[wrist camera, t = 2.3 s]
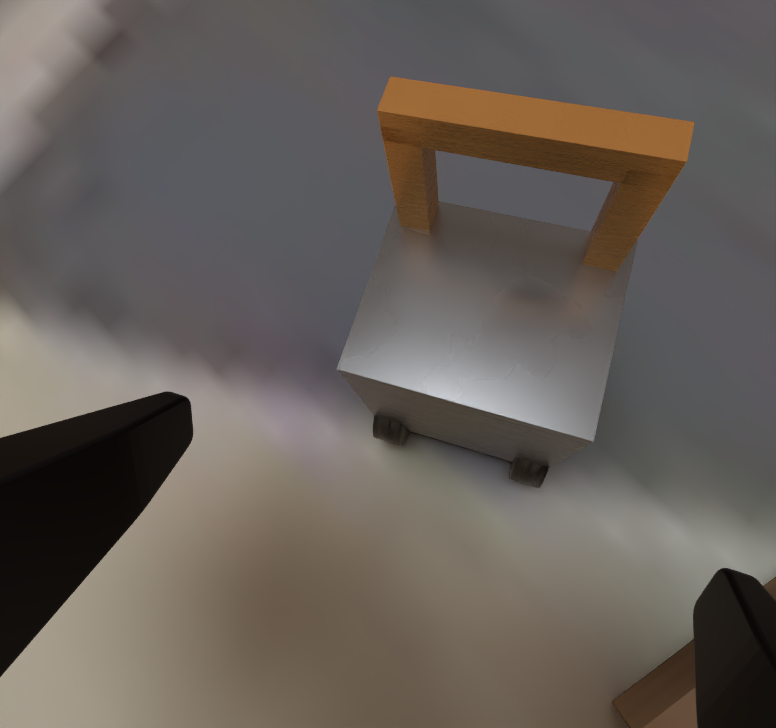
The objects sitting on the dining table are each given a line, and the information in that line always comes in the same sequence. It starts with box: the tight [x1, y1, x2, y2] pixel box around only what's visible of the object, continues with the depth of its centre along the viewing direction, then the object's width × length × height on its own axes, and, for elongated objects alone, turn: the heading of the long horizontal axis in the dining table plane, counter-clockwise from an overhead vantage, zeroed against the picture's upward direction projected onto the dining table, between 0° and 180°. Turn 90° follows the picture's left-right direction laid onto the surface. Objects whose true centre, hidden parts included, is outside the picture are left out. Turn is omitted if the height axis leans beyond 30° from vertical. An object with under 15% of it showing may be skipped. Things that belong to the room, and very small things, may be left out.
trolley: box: [337, 77, 695, 488], centre depth 14 cm, size 6×6×12 cm
